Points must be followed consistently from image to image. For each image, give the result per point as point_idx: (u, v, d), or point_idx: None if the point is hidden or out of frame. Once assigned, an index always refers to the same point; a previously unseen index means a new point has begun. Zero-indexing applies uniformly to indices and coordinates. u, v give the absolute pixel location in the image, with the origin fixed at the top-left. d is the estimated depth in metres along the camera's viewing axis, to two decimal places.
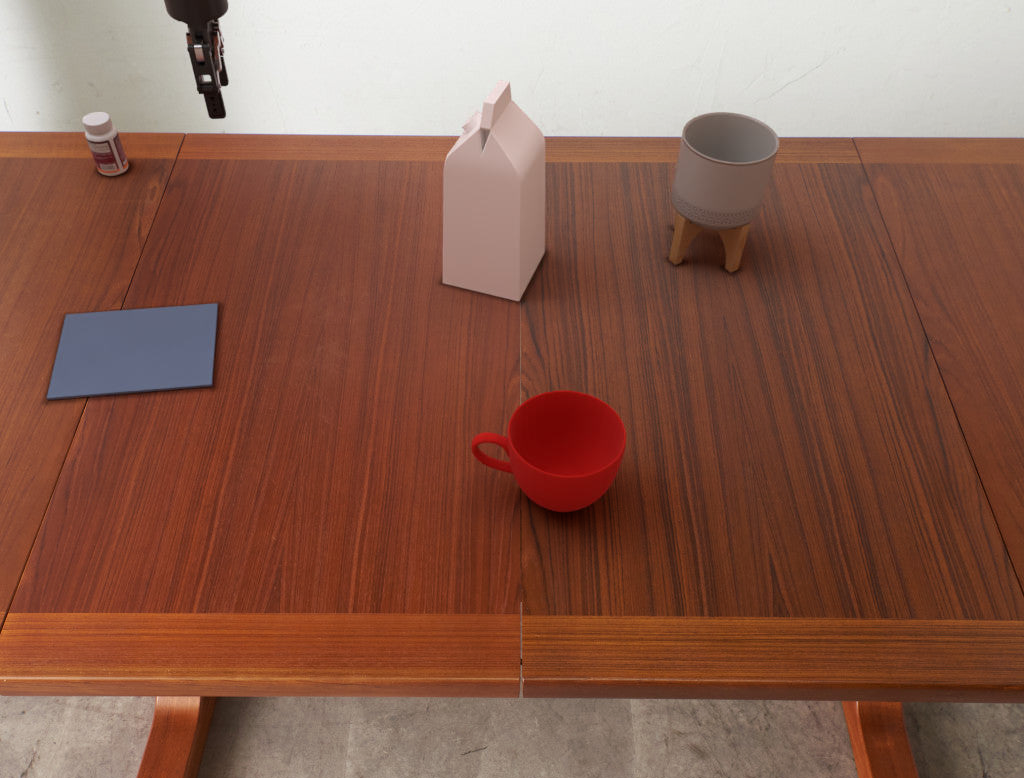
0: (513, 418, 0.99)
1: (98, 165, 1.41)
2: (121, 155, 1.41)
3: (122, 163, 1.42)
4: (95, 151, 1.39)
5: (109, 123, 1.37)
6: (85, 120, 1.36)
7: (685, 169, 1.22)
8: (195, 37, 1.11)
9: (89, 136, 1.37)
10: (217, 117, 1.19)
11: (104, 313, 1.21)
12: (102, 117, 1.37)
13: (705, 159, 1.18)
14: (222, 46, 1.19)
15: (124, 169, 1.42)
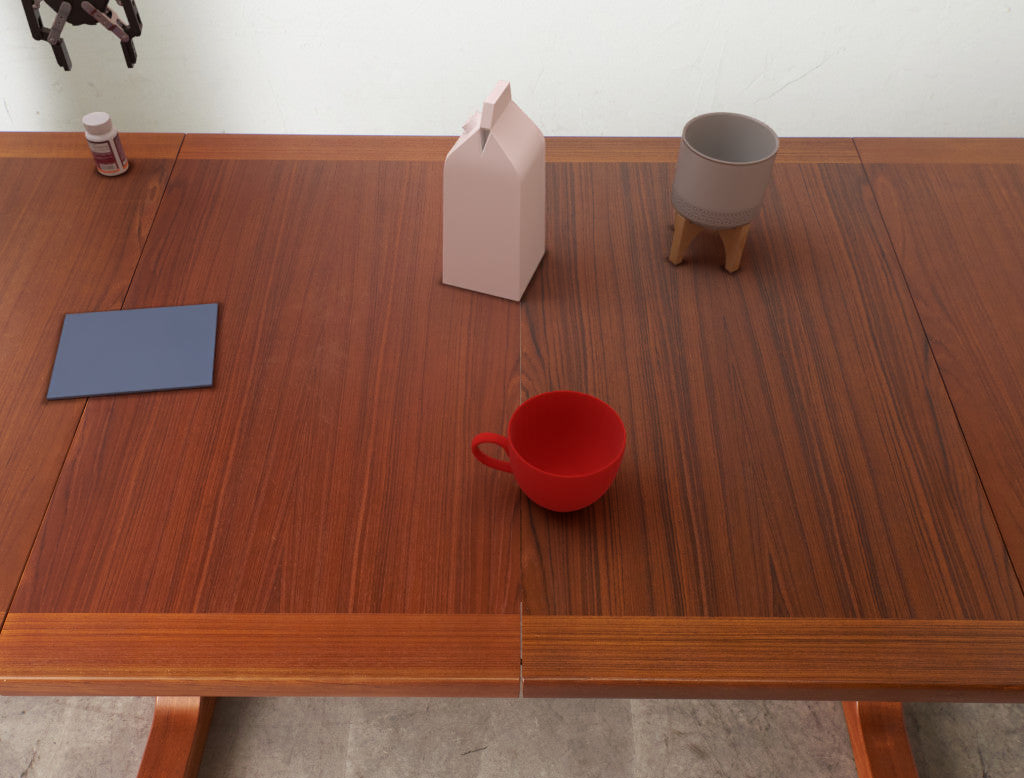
0: (513, 418, 0.99)
1: (98, 165, 1.41)
2: (121, 155, 1.41)
3: (122, 163, 1.42)
4: (95, 151, 1.39)
5: (109, 123, 1.37)
6: (85, 120, 1.36)
7: (685, 169, 1.22)
8: None
9: (89, 136, 1.37)
10: None
11: (104, 313, 1.21)
12: (102, 117, 1.37)
13: (705, 159, 1.18)
14: (107, 28, 1.22)
15: (124, 169, 1.42)
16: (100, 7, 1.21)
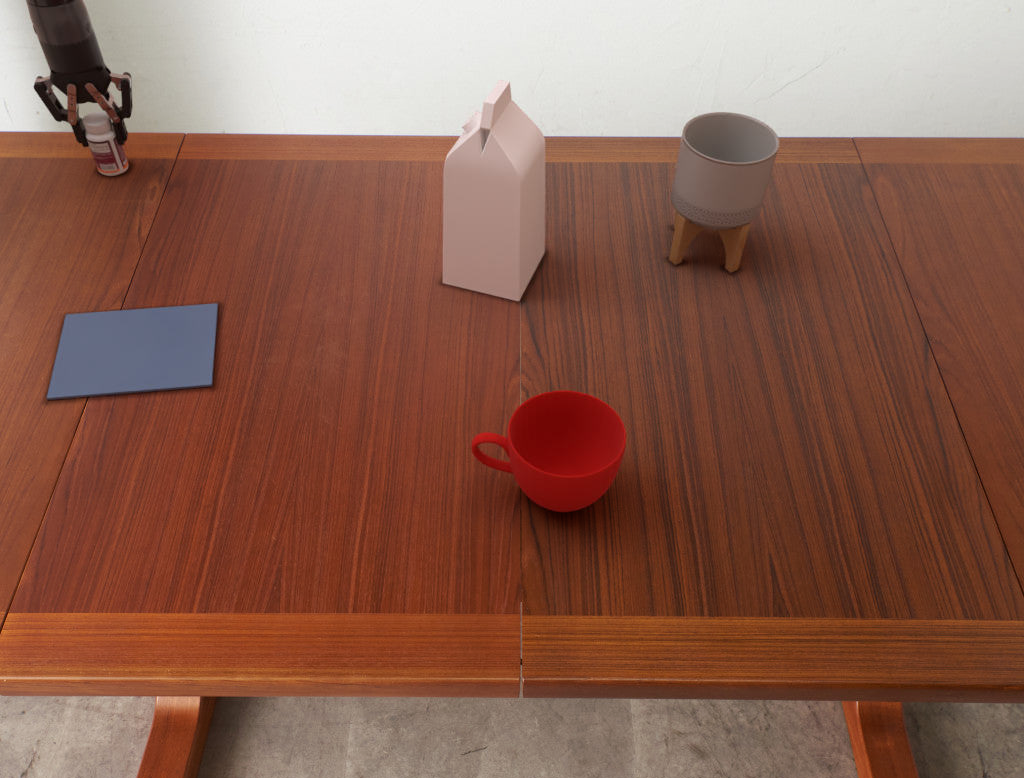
0: (513, 418, 0.99)
1: (98, 165, 1.41)
2: (121, 155, 1.41)
3: (122, 163, 1.42)
4: (95, 151, 1.39)
5: (109, 123, 1.37)
6: (85, 120, 1.36)
7: (685, 169, 1.22)
8: None
9: (90, 136, 1.37)
10: None
11: (104, 313, 1.21)
12: (102, 117, 1.37)
13: (705, 159, 1.18)
14: (102, 108, 1.34)
15: (124, 169, 1.42)
16: (102, 90, 1.33)
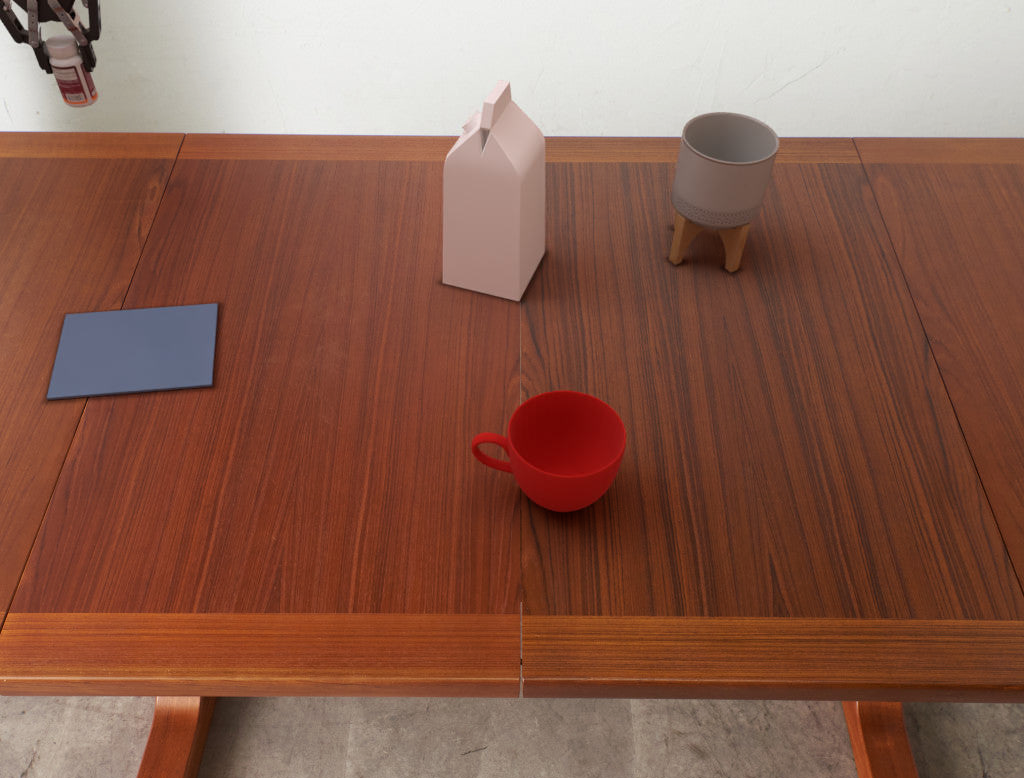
0: (513, 418, 0.99)
1: (64, 95, 1.27)
2: (89, 84, 1.27)
3: (91, 93, 1.28)
4: (60, 78, 1.25)
5: (75, 46, 1.24)
6: (49, 42, 1.23)
7: (685, 169, 1.22)
8: None
9: (54, 61, 1.24)
10: None
11: (104, 313, 1.21)
12: (68, 40, 1.23)
13: (705, 159, 1.18)
14: (67, 28, 1.21)
15: (93, 100, 1.29)
16: (66, 7, 1.19)
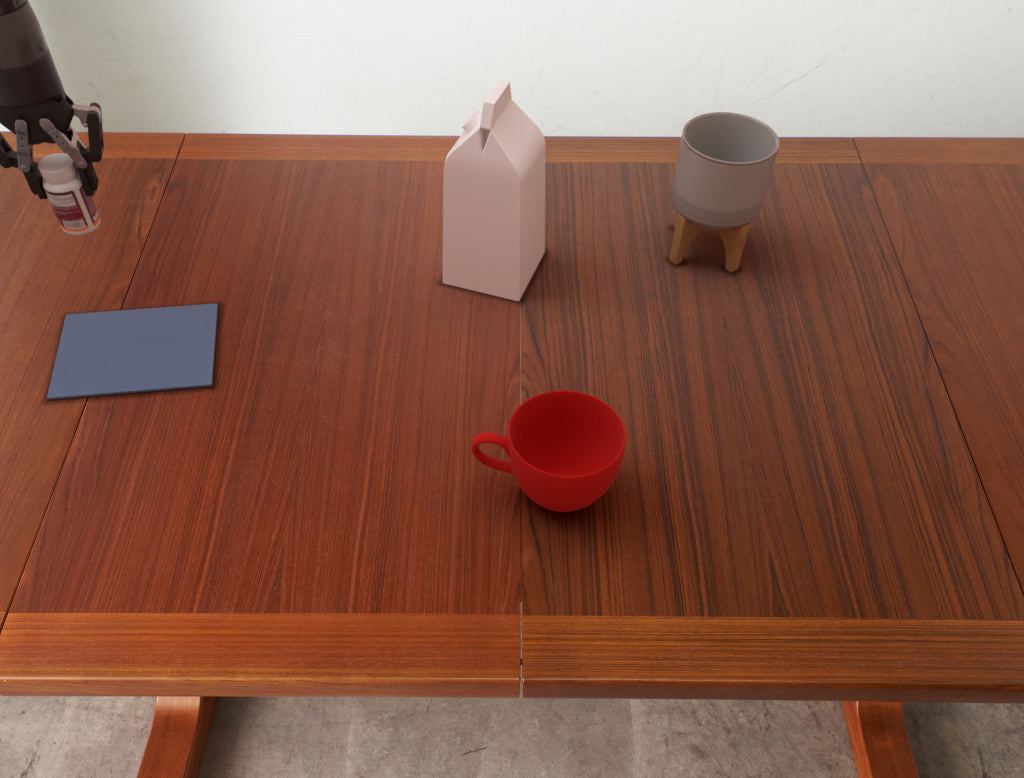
0: (513, 418, 0.99)
1: (60, 222, 1.08)
2: (90, 208, 1.08)
3: (92, 218, 1.09)
4: (56, 204, 1.06)
5: (73, 168, 1.05)
6: (42, 164, 1.04)
7: (685, 169, 1.22)
8: None
9: (48, 186, 1.05)
10: None
11: (104, 313, 1.21)
12: (64, 161, 1.04)
13: (705, 159, 1.18)
14: (63, 150, 1.02)
15: (95, 226, 1.10)
16: (62, 127, 1.00)
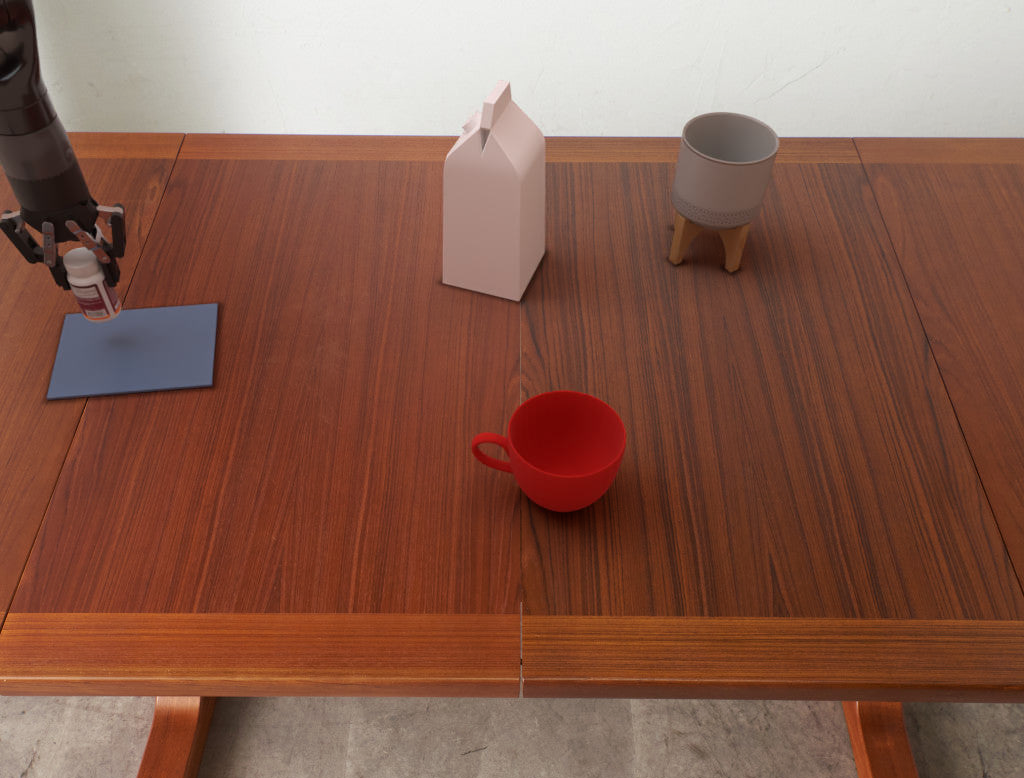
0: (513, 418, 0.99)
1: (83, 311, 1.12)
2: (112, 298, 1.12)
3: (114, 307, 1.13)
4: (79, 296, 1.10)
5: (97, 263, 1.08)
6: (67, 259, 1.08)
7: (685, 168, 1.22)
8: None
9: (72, 279, 1.09)
10: None
11: None
12: (88, 255, 1.08)
13: (705, 159, 1.18)
14: None
15: (116, 314, 1.14)
16: (87, 227, 1.04)
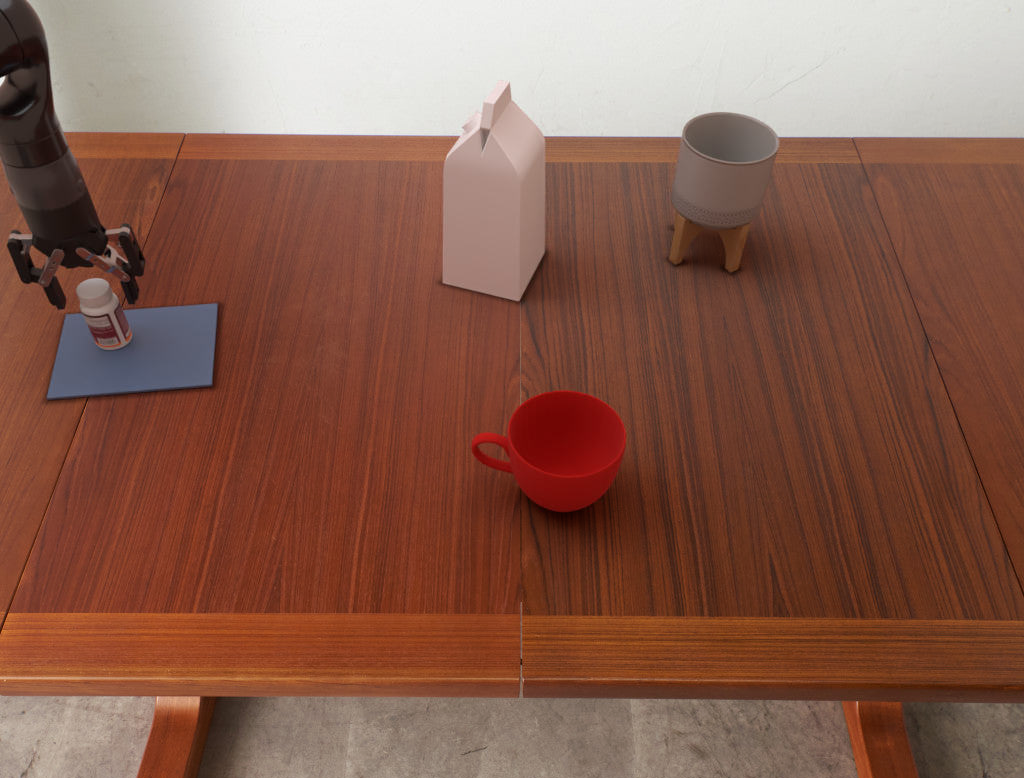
0: (513, 418, 0.99)
1: (95, 339, 1.16)
2: (123, 326, 1.16)
3: (125, 335, 1.17)
4: (92, 325, 1.14)
5: (109, 293, 1.12)
6: (80, 290, 1.11)
7: (685, 168, 1.22)
8: None
9: (85, 309, 1.12)
10: None
11: None
12: (100, 286, 1.12)
13: (705, 159, 1.18)
14: None
15: (127, 341, 1.17)
16: (97, 251, 1.06)
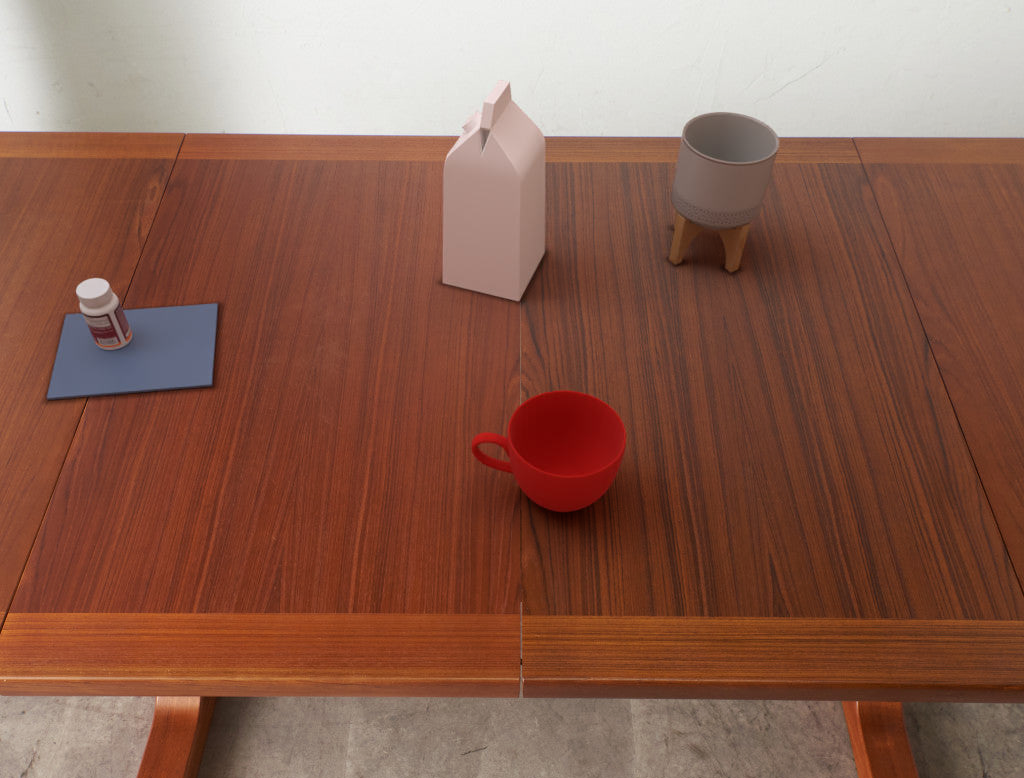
0: (513, 418, 0.99)
1: (95, 339, 1.16)
2: (123, 326, 1.16)
3: (125, 335, 1.17)
4: (92, 325, 1.14)
5: (109, 293, 1.12)
6: (80, 290, 1.11)
7: (685, 169, 1.22)
8: None
9: (85, 309, 1.12)
10: None
11: None
12: (100, 286, 1.12)
13: (705, 159, 1.18)
14: None
15: (127, 341, 1.17)
16: None
